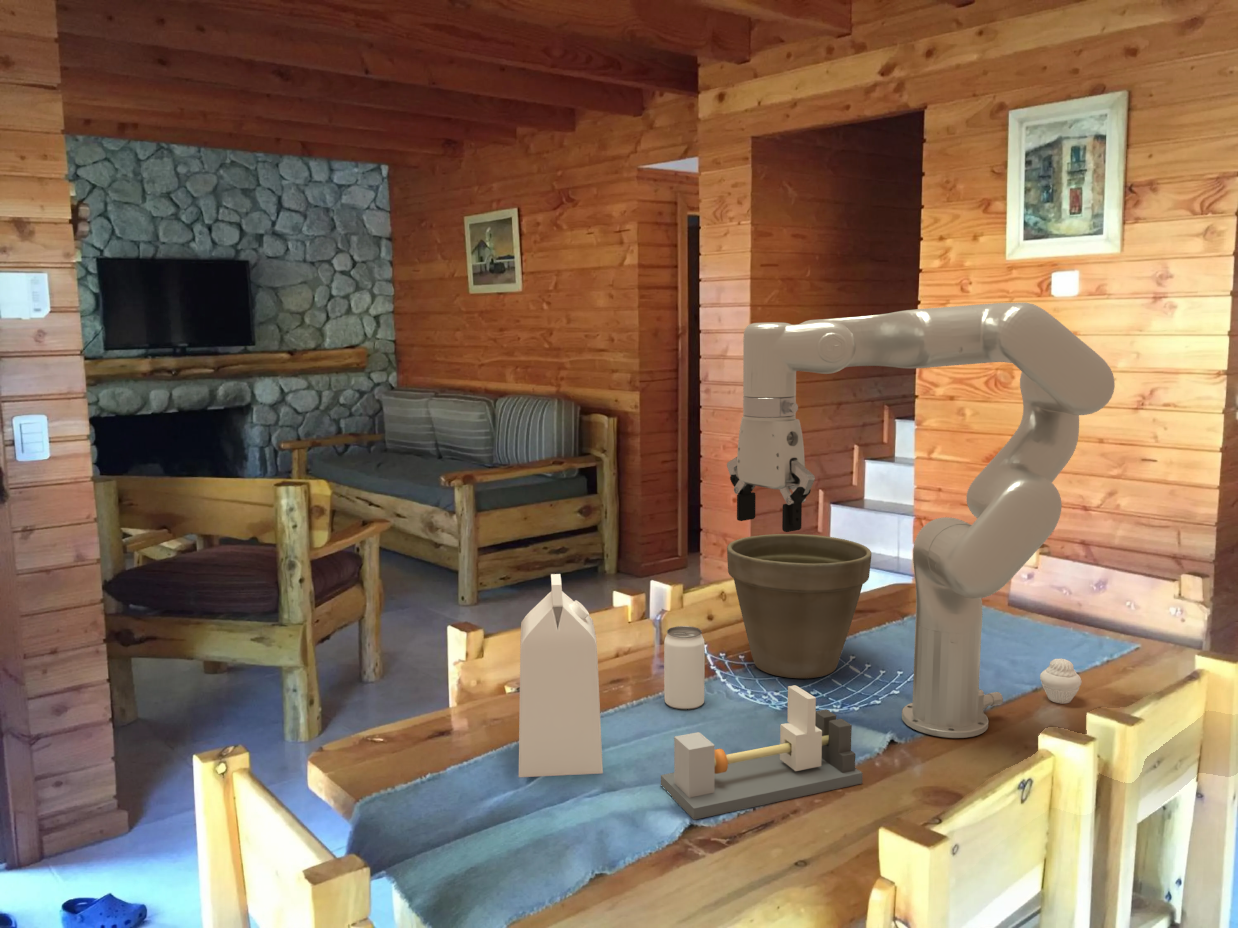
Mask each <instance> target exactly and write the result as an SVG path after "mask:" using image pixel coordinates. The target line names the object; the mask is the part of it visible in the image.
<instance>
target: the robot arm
mask: <svg viewBox="0 0 1238 928" xmlns="http://www.w3.org/2000/svg"><path fill="white" fill-rule="evenodd" d="M742 339H743V350H742V351H743V355H742V356H743V357H742V358H743V359H742V360H743V361H742V363H743V365H742V367H743V372H742V373H743V374H742V375H743V377H742V378H743V379H742V380H743V383H742V384H743V385H742V387H743V389H742V391H743V392H742V393H743V395H742V396H743V400H742V404H743V405H742V407H743V408H742V409H743V410H742V417H741V420H740V421H741V422H740V425H739V426H740V427H739V433H738V441H737V452H736V453H737V456H736V457H734V458H732V459H731V460H729V461H728V462H727V463H726V467H727V470H728V474H729V476H730V477H729V479H730V480H729V481H730V482H731V484H732V486H733V492H734V494H735V495H736V520H737V521H739V522H744V521H749V520H750V521H751V520H754V519H755V518H756V492H753V490H754V489H755V487H761V488H767V489H772V490H779V492H780V493H781V495H782V497H783V499H784V501H785V503H783V504H782V512H781V513H782V516H781V518H782V520H781V521H782V523H781V525H782V527H781V528H782V531H783V532H785V533H790V532H795V531H799V530H802V518H803V517H802V515H803V514H802V510H803V508H802V507H803V506H802V504H803V503H805V502H806V499H807V497H808V496H809V495H810V494H811V492H812V491H811V489H812V487H813V485H814V482H815V481H816V477H815V475H814V474H813V473H812V472H811V471H810V470H809V469H808V468H806V464H805V446H804V438H803V431H802V427H801V426H802V425H801V422H800V419H799V418H796V413H797V412H798V410H799V405H798V404H797V401H796V400H797V372H807V373H808V372H809V373H815V374H822V375H823V374H824V375H827V374H829V375H830V374H834V373H837V372H840V371H841V370H843V369H845V368H849V367H869V366H870V367H871V366H872V367H873V366H874V367H875V366H876V367H878V366H879V367H888V368H889V367H890V368H899V369H927V368H928V369H929V368H930V369H931V368H941V367H949V366H962V365H963V366H964V365H966V366H967V365H975V364H989V363H990V364H991V363H1007V364H1008V363H1009V364H1012V365H1014V366H1015V367H1016V368H1017V369H1019V371H1021V373H1020V379H1019V388H1020V393H1021V400H1022V405H1023V406H1022V407H1023V408H1022V409H1023V411H1022V417H1021V421H1020V423H1019V426H1018V427H1017V429H1016V430H1015V432H1014V434H1013V435H1012V436H1011V437H1010V439H1009V440H1008V441H1007V443H1006V444H1005V445H1004V446H1003V447H1002V448H1001V449H1000V450H999V451H998V452H997V454H996V455H995V456H994V457H993V458H992V459H991V460H990V461H989V462H988V463H987V465H986V466H985V467H984V468H983V469H982V470H981V471H980V472H979V473H978V475H977V476H976V477H975V478H974V480H972V482H971V483H970V485H969V487H968V489H967V492H966V505H967V508H968V509H969V511H970V513H971V514H972V515H973V517H975V518H976V519H975V521H974V522H973V523H971V524H970V523H968V522H967V521H964V520H962V519H959V518H956V517H949V516H948V517H947V516H946V517H938V518H935V519H932V520H930V521H928V522H927V523H925V525H923V526H922V527H921V529H920V530H919V531H918V533H917V535H916V537H915V539H914V542H913V543H914V544H913V549H912V560H913V564H912V565H913V571H914V572H913V573H914V581H915V625H914V648H913V649H914V651H913V652H914V653H913V677H912V678H913V680H912V681H913V683H912V702H910V703H908V704H906V705H905V706H903V708H902V709H901V719H902V721H903V723H904V724H905V725H906V726H908V727H910V728H911V729H913V730H914V731H915V730H916V731H917V732H920V733H922V734H926V735H930V736H933V737H939V738H949V739H964V738H965V739H966V738H973V737H976V736H979V735H981V734H983V733H984V732H985V733H986V731H987V730H988V728H989V719H988V716H987V715H986V713H984V710H986V709H988V707H994V706H998V705H999V706H1000V705H1002V704H1003V702H1004V697H1003V695H1002V694H1001V693H1000V692H999V691H994V692H989V693H986V694H985V692H984V691H983V689H980V675H981V674H980V671H981V670H980V669H981V649H982V648H981V647H982V630H983V629H982V628H983V600H982V599H983V598H984V599H985V598H987V597H990V596H993V595H994V594H996V593H997V592H999V591H1000V590H1001V589H1002V588H1004V587H1005V586H1006V585H1007V584H1008V583H1009V582H1010V581H1011V579H1013V578H1014V577H1015V575H1017V573H1018V572H1019V571H1020V570H1021V569H1022V568H1023V566H1025V564H1026V563H1027V562H1028V561H1029V560H1030V559H1031V558H1032V557H1033V555H1034V554H1035V553H1036V552H1037V551H1038V550H1039V549H1040V547H1042V546H1043V545H1044V543H1045V542H1046V541H1047V540H1048V539H1049V537H1050V536H1051V535H1052V534H1053V532H1054V530H1055V529H1056V527H1057V525H1058V523H1059V521H1060V517H1061V515H1062V507H1063V505H1062V504H1063V503H1062V498H1061V495H1060V493H1059V490H1058V488H1057V486H1055V484H1054V483H1053V482H1054V481H1055V479H1056V478H1057V477H1058V476H1059V475H1060V473H1061V472H1062V470H1064V469H1065V467H1066V466H1067V464H1068V463H1069V462H1070V461H1071V458H1072V457H1073V455H1074V453H1075V451H1076V448H1077V445H1078V441H1079V434H1080V416H1087V415H1092V414H1094V413H1097V412H1098V411H1101V410H1102V409H1103V408H1104V407H1105V406H1106V405H1107V404H1108V403H1109V402H1110V400H1111V399H1112V398H1113V395H1114V391H1115V388H1116V387H1115V385H1116V383H1115V377H1114V373H1113V371H1112V369H1111V367H1110V365H1109V364H1108V362H1106V360H1105V359H1104V358H1103V357H1102V356H1100V355H1099V354H1098V353H1097V352H1096V351H1095V350H1094V349H1093V348H1091V347H1090V346H1089V345H1087V344H1086V342H1084V341H1082V340H1081V339H1080V338H1079V337H1078V336H1077V335H1075V333H1073V332H1072V331H1071V330H1070V329H1069V328H1067V327H1066V326H1065V325H1064V324H1063V323H1062V322H1061V321H1059V320H1058V319H1057V318H1055V316H1053V315H1052V314H1050V313H1049V312H1048V311H1046V310H1045V309H1044V308H1042V307H1040V306H1038V305H1036V304H1033V303H1030V302H1029V303H1028V302H997V303H996V302H994V303H983V304H970V305H969V304H968V305H958V306H957V305H956V306H944V307H930V308H929V307H928V308H918V309H906V310H899V311H894V312H889V313H881V314H873V315H872V314H871V315H861V316H849V317H835V318H823V319H809V320H805V321H803V322H801V323H799V324H798V323H797V324H791V323H788V322H753V323H749V324H748V325H747V326H745V328H744V330H743V338H742ZM790 490H791V491H792V492H791V491H790Z"/></svg>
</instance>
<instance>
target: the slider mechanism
mask: <svg viewBox="0 0 1238 928" xmlns="http://www.w3.org/2000/svg"><path fill="white" fill-rule="evenodd" d="M815 726H816V727H817V728H819V729H820V730H822V757H821V766H819V767H814V768H809V769H804V770H799V771H795V770H793V769H792V768H791V767H789V766H788V765H787V764H786V763H784V762H783V761H782V760H780V754H782V753H787V752H792V744H791V743H785V744H780V743H779V744H775V745H771V746H764V747H761V748H755V749H749V750H745V751H744V750H743V751H738V752H733V753H729V754H726V752H725V751H724V749H722V748H717V749H716V747H715V746H716V745H715V744H714V743H713V742H712V741H711V740H709V739H708V738H707V737H705V736H704V735H703V734H702V732H698V731H697V732H692V733H687V734H683V735H682V734H681V735H676V736H674V737H673V739H674V740H673V741H674V742H673V743H674V744H673V745H674V747H673V749H674V752H673V753H674V754H673V755H674V756H673V757H674V760H673V761H674V768H673V769H674V771H673V772H669V773H664V774H660V786H661V785H662V786H663V787H664V788H665V789H666V790H667V791H668V792H669V793H670V794H671V796H672V797H673V798H672V797H671V796H670V797H671V798H672V799H673V800H674V799H675V800H674V801H675V802H676V803H677V804H678V805H679V806H680V807H681V808H682V809H683V811H685V813H687V815H688V816H689V817H690V818H692V820H694V821H695V820H700V819H703V818H708V817H709V818H710V817H712V816H713V817H714V816H718V815H721V814H722V815H723V814H726V813H732V812H737V811H740V810H746V809H751V808H754V807H760V806H764V805H769V804H773V803H778V802H783V801H787V800H792V799H797V798H801V797H802V798H803V797H806V796H810V795H815V794H819V793H825V792H829V791H833V790H834V791H835V790H837V789H842V788H848V787H852V786H857V785H861V784H863V772H862V771H861V770H859V769H858V768H856V753H855V752H854V751H853V750H852V735H853V733H852V728H853V726H852V724H851V723H850V722H848V721H846V720H845V719H843V718H838V719H837V715H836V714H835V713H834V712H832V711H830V710H829V709H825V708H824V709H820V710H816V716H815ZM662 786H661V787H662ZM663 787H662V788H663ZM664 788H663V789H664ZM665 789H664V790H665Z"/></svg>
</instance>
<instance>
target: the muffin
mask: <svg viewBox="0 0 1238 928" xmlns="http://www.w3.org/2000/svg"><path fill="white" fill-rule="evenodd" d="M1074 667H1075V666H1074V664H1073V663H1072V662H1071V661H1070V660H1068V659H1065V658H1054V659H1052V660H1051V661H1050V662H1049V666H1047V667H1046V669H1043V670H1042V672H1040V674H1039V679H1040V682H1041V687H1043V690H1044V691H1045V694H1046V696H1047V699H1048V700H1049V701H1051V702H1053V703H1055V704H1069V703H1071V702H1072V700H1073V699H1074V697H1075V696H1076V695H1077V693H1078V692H1079V690H1080V687H1081V685H1082V678H1081V676H1080V675H1079V674H1078V673H1077V672H1076V670H1075V669H1074Z"/></svg>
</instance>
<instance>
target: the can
mask: <svg viewBox="0 0 1238 928" xmlns="http://www.w3.org/2000/svg"><path fill="white" fill-rule="evenodd" d="M702 633H703V631H702V630H701V629H700V628H699V627H695V626H690V625H677V626H673V627H670V628H668V629H667V630H666V635H665V638H664V644H663V645H664V646H663V647H664V648H663V649H664V650H663V653H664V654H663V656H664V657H663V666H664V667H663V668H664V669H663V673H664V674H663V675H664V676H663V677H664V678H663V680H664V684H663V685H664V686H663V687H664V691H663V692H664V702H665V703H666V705H667V706H669V707H670V708H672V709H677V710H683V711H684V710H687V709H688V710H695V709H697V708H699V707H701V706H702V705H703V704H704V703H705V673H706V672H705V665H706V663H705V653H706V651H705V639H704V637H703V635H702Z"/></svg>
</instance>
